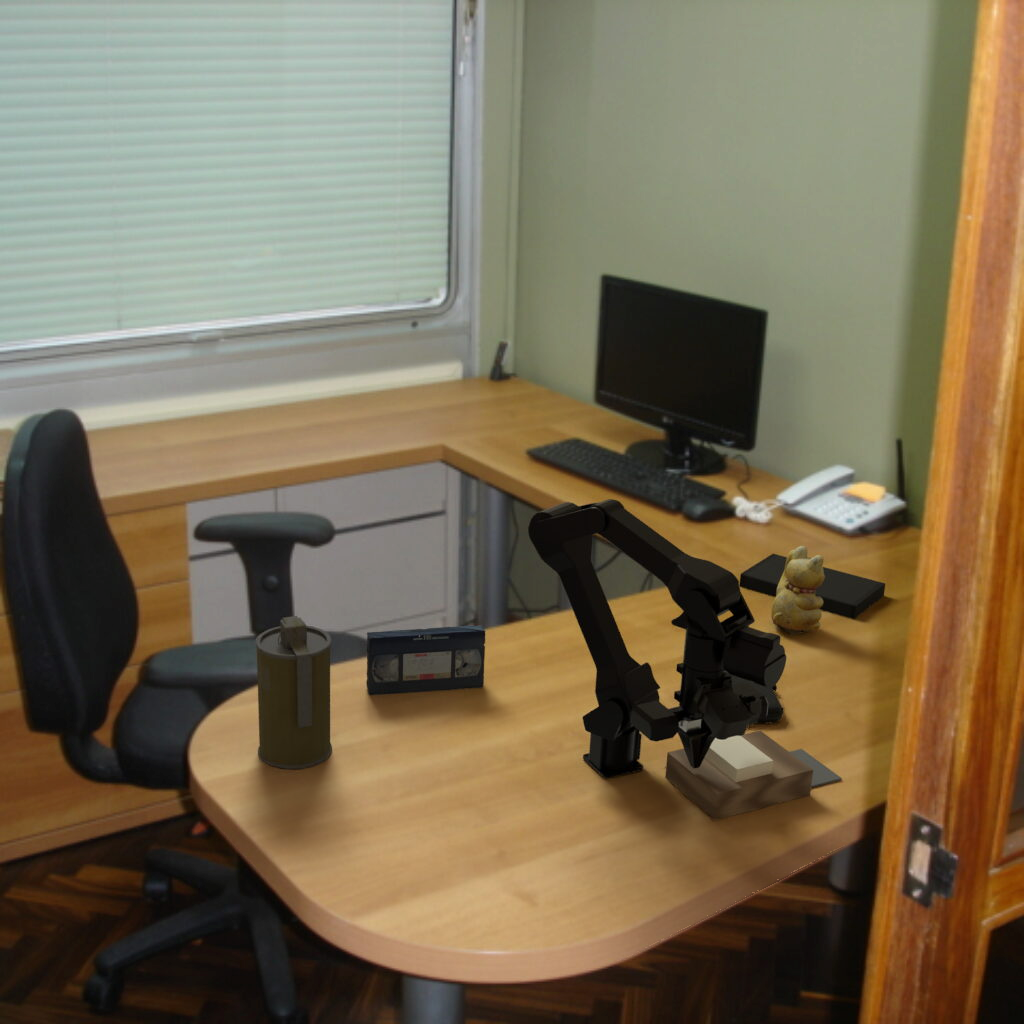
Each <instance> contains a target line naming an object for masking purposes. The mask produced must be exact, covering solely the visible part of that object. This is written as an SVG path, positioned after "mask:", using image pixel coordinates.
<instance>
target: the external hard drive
mask: <svg viewBox="0 0 1024 1024" xmlns="http://www.w3.org/2000/svg"><path fill="white" fill-rule="evenodd" d="M786 559H787V556H783V555H781V554H780V555H779V554H777V553H771V554H770V555H767V557H765V558H763V559H762V560H760V561H759V562H758V563H755V564H754V565H752V566H751V567H749V568H748V569H745V570H744V571H742V573H740V577H739V587H740V588H742V589H743V588H744V589H747V590H751V591H755V592H757V593H761V594H765V595H768V596H772V597H774V598H776V591H777V587H778V584H779V582H780V579H781V577H782V575H783V572H784V570H785V564H786ZM822 567H823V571H824V576H825V580H824V582H823V583H822V584H821V585H820V586H819V587H818V588H816V589H815V594H816V596H819V597H821V598H822V599H823V602H824V603H823V606H822V607H820V610H821V611H824V612H827V613H831V614H834V615H837V616H842V617H845V618H849V619H852V620H855V619H857V618H858V617H859V616H861V615H862V614H863V613H864V612H866V611H867V610H868V609H869V608H871V607H872V606H873V605H875V603H877V602H878V601H880V600H881V598H883V597H884V596H885V590H886V583H885V582H882V581H877V580H874V579H871V578H867V577H862V576H860V575H856V574H851V573H847V572H844V571H840V570H836V569H833V568H829V567H826V566H825V567H824V566H822Z"/></svg>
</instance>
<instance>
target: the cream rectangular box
mask: <svg viewBox="0 0 1024 1024" xmlns="http://www.w3.org/2000/svg"><path fill="white" fill-rule="evenodd" d="M705 758H706V759H707V760H708V761H710V762H711V763H712V764H713V765H715V766H716V767H717V768H718V769H720V770H721V771H722V772H723V773H725V774H726V775H727V776H728V777H729V778H731V779H732V780H733V781H734V782H739V781H743V780H747V779H751V778H755V777H759V776H763V775H767V774H771V773H772V765H773V760H772V759H770V758H769V757H768V756H766V755H765V754H764V753H763V752H761V751H760V750H759V749H757V748H756V747H755V746H753V745H752V744H751V743H749V742H748V741H747V740H745V739H744V738H743V737H741V736H733V737H729V738H727V739H725V740H719V739H717V738H715V739H714V741H713V742H712V744H711V746H710V747H709V750H708V752H707V754H706V755H705Z"/></svg>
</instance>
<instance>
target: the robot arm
mask: <svg viewBox="0 0 1024 1024" xmlns="http://www.w3.org/2000/svg"><path fill="white" fill-rule="evenodd" d="M527 533H528V534H527V535H528V538H529V540H530V542H531V544H532V546H533V547H534V549H535V551H536V553H537V554H538V556H539V558H540V559H541V560H542V561H543V562H544V563H545V564H546V565H547V566H548V567H550V568H551V569H552V570H553V571H554V572H556V574H557V575H558V577H559V579H560V582H561V584H562V587H563V589H564V592H565V594H566V596H567V599H568V602H569V604H570V606H571V609H572V612H573V614H574V617H575V619H576V620H577V621H576V622H577V624H578V626H579V629H580V631H581V633H582V637H583V639H584V641H585V643H586V646H587V648H588V650H589V654H590V656H591V658H592V661H593V663H594V666H595V669H596V673H595V674H596V676H595V677H596V678H595V689H594V693H595V697H596V701H597V704H598V706H597V707H595V708H594V709H592V710H590V711H589V712H588V713H586V714H584V715H583V716H582V722H583V726H584V729H585V732H587V733H589V734H590V738H589V751H588V752H587V753H584V754H583V756H582V759H583V760H584V761H585V762H586V763H587V764H588V765H589V766H591V767H592V768H593V769H594V770H595V771H596V772H597V773H598V774H599V775H600V776H601V777H602V778H604V779H610V778H614V777H618V776H623V775H626V774H631V773H635V772H639V771H643V769H644V765H643V764H642V763H641V762H640V761H639V760H640V758H641V751H642V750H641V749H642V748H641V747H642V738H643V737H642V735H643V736H645V738H647V739H648V740H649V741H651V742H659V741H665V740H669V739H673V738H674V737H675V736H676V735H677V734H678V737H679V739H680V741H681V744H682V747H683V749H684V750H685V752H686V755H687V758H688V761H689V763H690V766H691V767H693V768H694V769H695V768H699V767H700V765H701V763H702V761H703V759H704V757H705V755H706V754H707V752H708V750H709V747H710V746H711V744H712V742H713V741H714V739H715V738H717V739H719V740H725V739H727V738H729V737H733V736H742V735H744V734H746V731H747V729H748V727H749V725H754V724H759V723H758V719H759V718H764V717H767V712H768V701H767V699H766V697H765V696H764V695H763V694H761V693H760V692H758V691H757V690H756V689H754V688H753V687H751V686H750V685H748V684H747V683H746V682H744V683H739V684H735V685H732V679H731V677H732V676H731V675H734V676H737V677H739V678H742V679H745V680H748V681H751V682H753V683H756V684H759V685H762V686H765V687H768V688H772V687H773V686H775V685H776V686H777V683H778V682H779V681H780V679H781V678H782V676H783V673H784V672H785V671H784V670H785V667H786V663H787V655H786V650H785V647H784V645H782V644H781V636H780V635H779V634H776V633H773V632H765V631H762V630H759V629H756V628H753V627H750V626H751V625H753V624H755V622H756V621H755V617H754V616H753V614H752V612H751V609H750V608H749V606H748V604H747V602H746V599H745V598H744V595H743V594H742V592H741V587H739V585H740V580H739V579H738V578H737V576H736V575H735V574H734V573H733V572H731V571H730V570H728V569H726V568H724V567H723V566H720V565H718V564H716V563H714V562H712V561H710V560H707V559H702V558H698V557H694V556H692V555H690V554H688V553H686V552H684V551H683V550H682V549H680V548H679V547H677V546H676V544H675V545H674V543H672V542H671V541H669V540H668V539H667V538H665V536H663V535H661V534H660V533H659V532H657V531H656V530H654V529H653V528H651V526H649V525H647V524H646V523H645V522H643V521H642V520H641V519H639V518H638V516H637V517H636V516H635V515H634V514H632V513H631V512H630V511H628V510H627V509H626V508H625V506H624V505H623V503H622V502H621V501H620V500H617V499H613V498H607V499H605V500H603V501H597V502H591V503H587V504H586V503H585V504H584V505H583V504H582V505H577V504H576V503H574V502H570V501H565V502H561V503H559V504H557V505H554V506H552V507H549V508H546V509H544V510H541V511H538V512H537V513H535V514H533V516H532V517H531V519H530V521H529V524H528V526H527ZM596 534H597V535H599V536H601V537H602V538H604V539H605V540H606V541H607V542H609V543H611V545H613V546H614V547H615V548H617V549H618V550H620V551H621V552H622V553H623V554H625V555H626V556H627V557H629V558H630V559H631V560H633V561H634V562H635V563H636V564H638V565H639V566H641V568H643V569H644V570H646V571H647V572H649V573H650V574H651V575H653V576H654V577H655V578H656V579H658V580H659V581H660V582H662V583H663V584H664V586H665V587H666V588H667V591H668V592H669V594H670V597H671V599H672V601H673V602H674V603H675V604H676V605H677V606H678V607H679V608H680V609H681V610H682V612H681V614H679V615H678V616H677V617H675V618H673V619H672V620H671V623H670V624H671V625H672V626H673V627H674V626H675V627H677V628H680V629H683V630H685V636H684V645H683V646H684V647H683V659H682V662H680V663H677V664H676V672H677V673H678V674H680V675H681V679H680V680H681V681H680V689H679V690H676V691H674V694H673V699H674V700H675V701H677V702H678V703H679V704H678V706H673V707H669V708H668V707H667V706H665V705H664V704H663V703H661V702H660V694H659V689H661V686H660V684H658V682H657V680H656V678H655V677H654V673H653V670H652V667H651V665H650V663H649V662H644V663H642V664H640V663H639V662H638V661H637V660H635V659H634V658H633V657H632V656H631V655H630V653H629V651H628V649H627V646H626V644H625V641H624V638H623V637H622V634H621V632H620V629H619V626H618V624H617V621H616V619H615V617H614V614H613V611H612V609H611V607H610V605H609V602H608V600H607V597H606V595H605V592H604V590H603V587H602V585H601V582H600V579H599V577H598V575H597V573H596V571H595V570H596V569H595V567H594V564H593V563H592V548H593V535H596ZM727 612H730V613H731V614H732V615H731V616H730V617H727V618H726V619H724V620H723V621H720V619H719V618H720V616H722V615H724V614H726V613H727ZM726 671H727V672H728V673H727V672H726ZM730 674H731V675H730Z"/></svg>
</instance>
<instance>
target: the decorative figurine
mask: <svg viewBox="0 0 1024 1024" xmlns="http://www.w3.org/2000/svg"><path fill="white" fill-rule="evenodd" d="M786 557H787V559H786V564H785V570H784V572H783V575H782V577H781V579H780V582H779V584H778V587H777V591H776V597H774V600H773V602H772V606H771V612H770V614H771V615H770V616H771V617H770V618H771V620H772V624H774V625H775V626H778V627H779V628H780V629H782V630H783V631H785V632H787V633H788V634H790V635H795V634H806V633H811V632H813V631H814V630H818V629H819V628H820V627H821V622H820V620H821V619H822V615H823V614H822V610H820V607H822V606H823V603H824V602H823V599H822V598H821V597H819V596H816V594H815V589H816V588H818V587H819V586H820V585H821V584H822V583H823V582H824V580H825V576H824V571H823V567H824V566H823V564H824V560H825V559H824V556H822V555H821V554H817V555H815V556H813V557H808V549H807V547H806V545H799V546H798V547H797V548H795V549H792V550H790V551H789V552H788V554H787V556H786Z"/></svg>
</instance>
